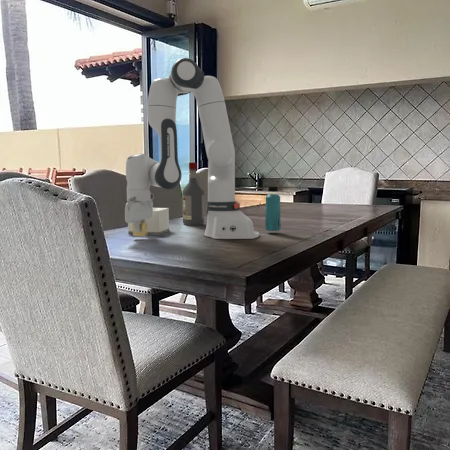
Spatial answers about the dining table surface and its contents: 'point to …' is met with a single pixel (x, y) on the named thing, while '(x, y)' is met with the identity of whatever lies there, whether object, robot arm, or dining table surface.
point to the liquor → (193, 200)
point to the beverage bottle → (273, 210)
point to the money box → (155, 222)
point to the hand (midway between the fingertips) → (140, 231)
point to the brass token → (143, 230)
